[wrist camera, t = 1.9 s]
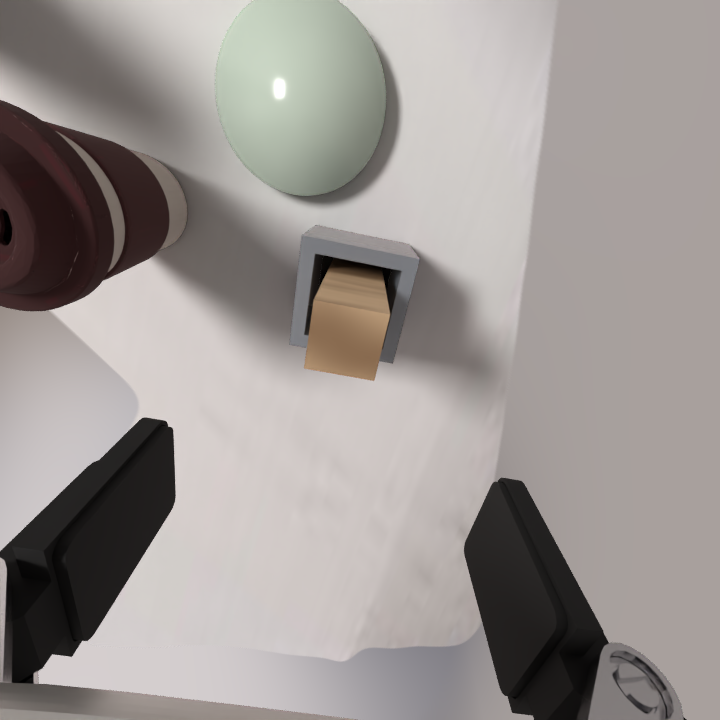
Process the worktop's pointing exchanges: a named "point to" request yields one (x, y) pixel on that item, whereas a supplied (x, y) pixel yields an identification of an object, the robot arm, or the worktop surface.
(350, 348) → the oak peg
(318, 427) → the worktop surface
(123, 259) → the coffee cup
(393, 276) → the gray open square box
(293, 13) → the mint green dome
